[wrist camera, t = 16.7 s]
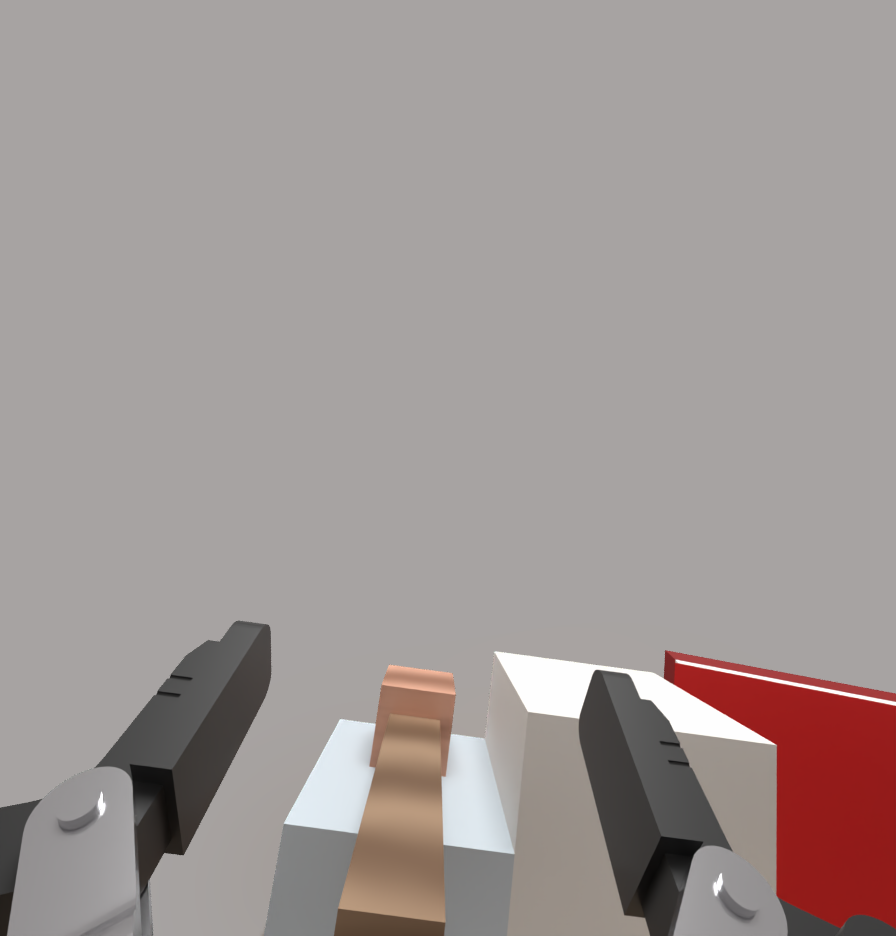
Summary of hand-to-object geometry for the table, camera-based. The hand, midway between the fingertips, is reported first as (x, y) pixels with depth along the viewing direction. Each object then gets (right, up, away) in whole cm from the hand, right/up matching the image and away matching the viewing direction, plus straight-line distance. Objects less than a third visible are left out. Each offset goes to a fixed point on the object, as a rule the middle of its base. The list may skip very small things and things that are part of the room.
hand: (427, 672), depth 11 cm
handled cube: (-2, -18, +17) cm, 24 cm away
